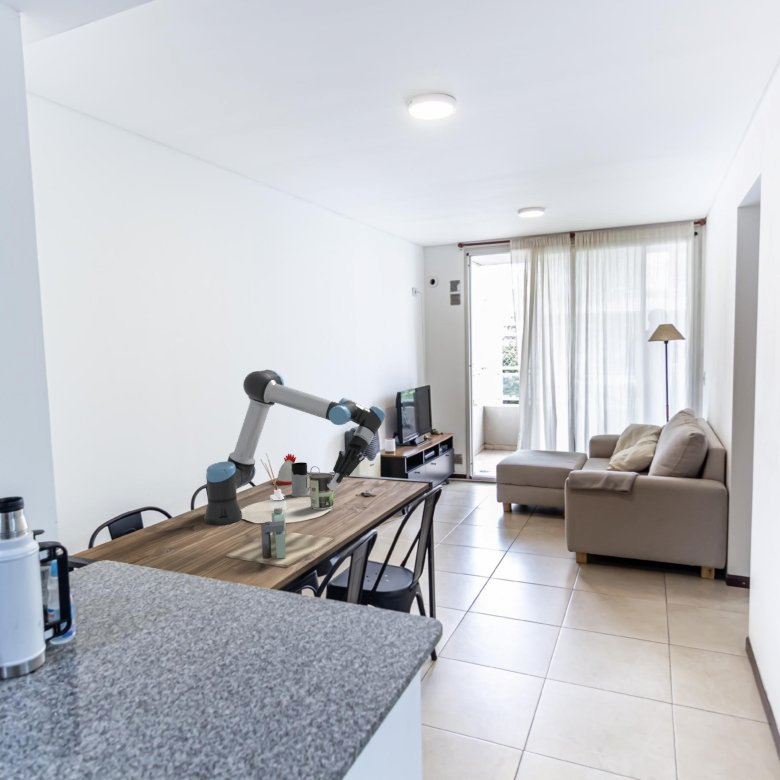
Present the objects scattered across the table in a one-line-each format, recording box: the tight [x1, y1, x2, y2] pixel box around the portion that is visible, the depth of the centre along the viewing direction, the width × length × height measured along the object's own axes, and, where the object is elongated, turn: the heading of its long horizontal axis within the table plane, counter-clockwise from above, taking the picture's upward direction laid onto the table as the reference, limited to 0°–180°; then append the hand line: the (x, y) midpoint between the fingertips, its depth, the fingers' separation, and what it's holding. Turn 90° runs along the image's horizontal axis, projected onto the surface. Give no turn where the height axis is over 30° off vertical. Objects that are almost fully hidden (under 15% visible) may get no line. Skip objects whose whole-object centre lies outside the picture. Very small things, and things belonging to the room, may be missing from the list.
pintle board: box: [225, 507, 336, 568], centre depth 203 cm, size 26×28×11 cm
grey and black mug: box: [291, 461, 321, 498], centre depth 279 cm, size 9×14×15 cm, turn 87°
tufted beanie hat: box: [277, 453, 298, 486], centre depth 308 cm, size 14×14×15 cm
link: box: [271, 511, 287, 558], centre depth 205 cm, size 28×5×8 cm, turn 12°
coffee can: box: [308, 472, 335, 511], centre depth 256 cm, size 10×10×14 cm
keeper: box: [260, 521, 285, 559], centre depth 193 cm, size 8×5×12 cm, turn 98°
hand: (331, 488), depth 221 cm, fingers closed
